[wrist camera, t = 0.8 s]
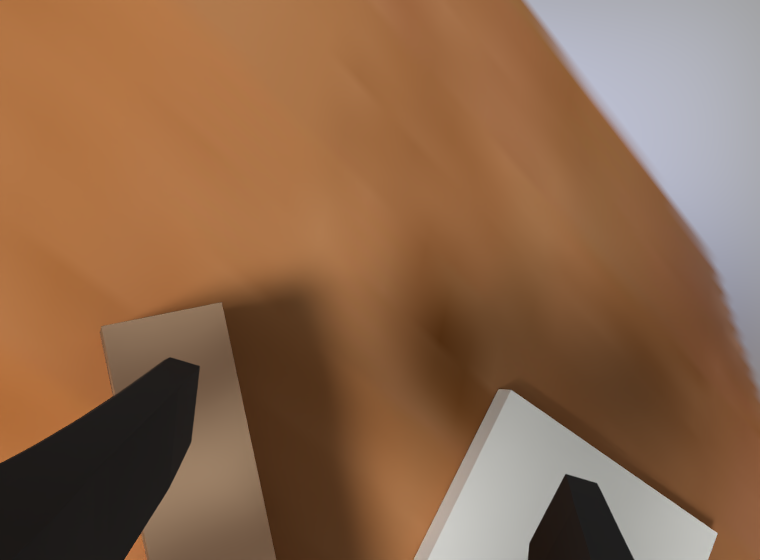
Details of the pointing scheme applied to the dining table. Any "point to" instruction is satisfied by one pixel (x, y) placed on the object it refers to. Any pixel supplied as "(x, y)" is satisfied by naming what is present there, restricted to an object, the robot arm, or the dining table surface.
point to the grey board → (547, 493)
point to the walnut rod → (198, 440)
